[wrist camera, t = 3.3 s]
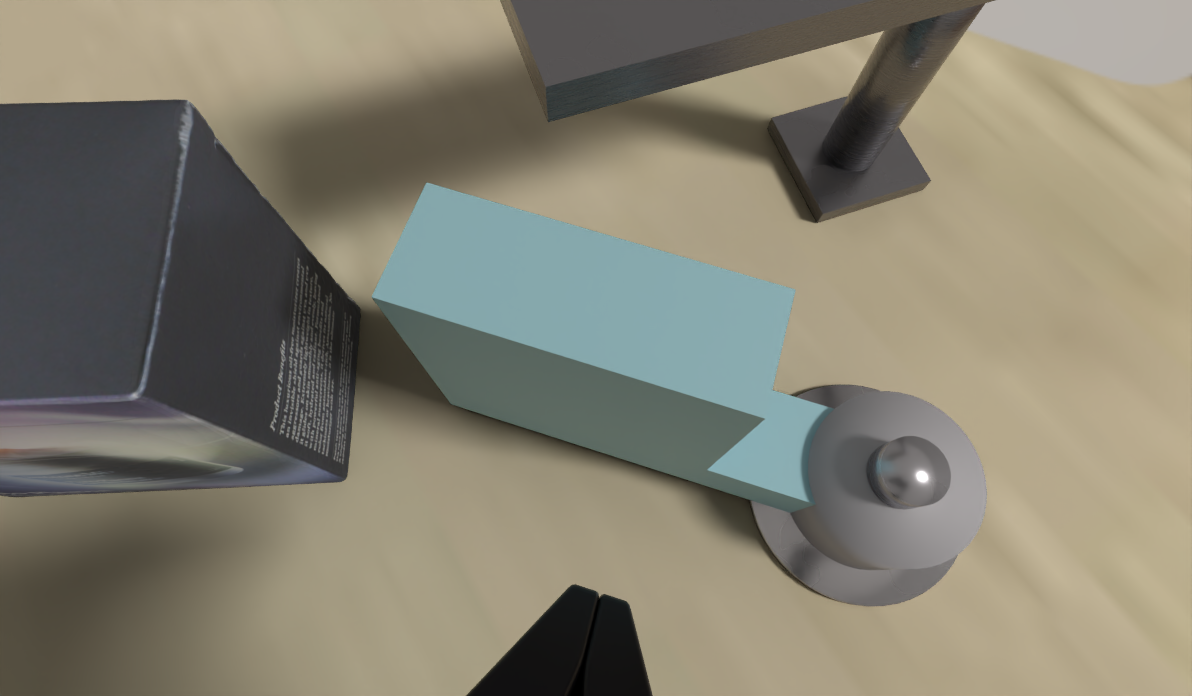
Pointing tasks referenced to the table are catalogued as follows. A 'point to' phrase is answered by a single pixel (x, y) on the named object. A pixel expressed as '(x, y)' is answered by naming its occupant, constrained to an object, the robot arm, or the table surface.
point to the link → (660, 373)
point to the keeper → (748, 38)
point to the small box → (158, 313)
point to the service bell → (898, 479)
